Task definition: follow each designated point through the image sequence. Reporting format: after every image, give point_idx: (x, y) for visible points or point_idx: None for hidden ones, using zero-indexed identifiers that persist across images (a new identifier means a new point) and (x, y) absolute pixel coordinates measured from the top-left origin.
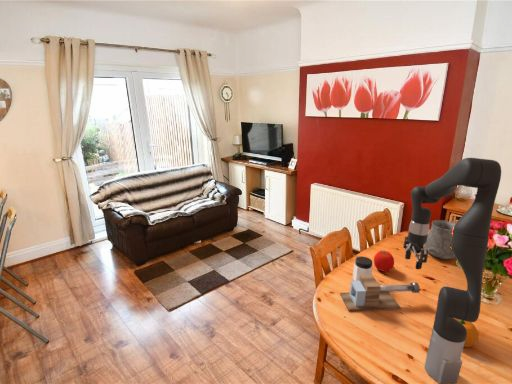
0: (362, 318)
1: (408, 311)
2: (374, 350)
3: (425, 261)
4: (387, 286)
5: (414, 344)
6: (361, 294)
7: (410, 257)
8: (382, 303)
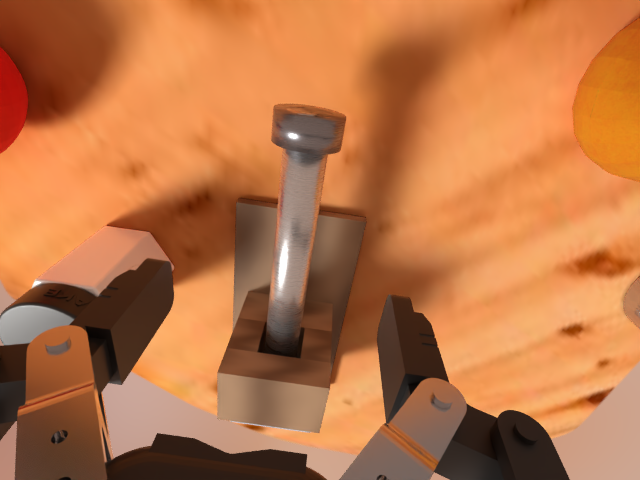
0: (370, 365)
1: (387, 191)
2: (500, 396)
3: (541, 457)
4: (291, 304)
5: (545, 288)
6: None
7: (159, 271)
8: (320, 279)
